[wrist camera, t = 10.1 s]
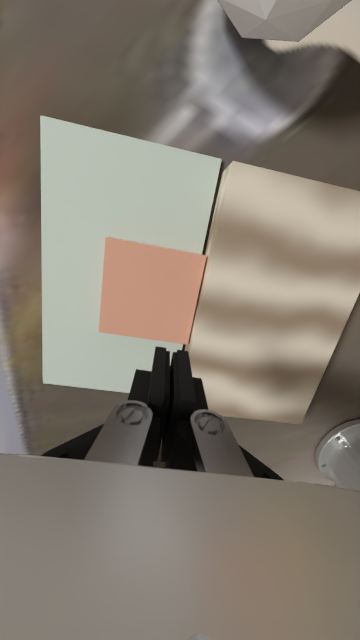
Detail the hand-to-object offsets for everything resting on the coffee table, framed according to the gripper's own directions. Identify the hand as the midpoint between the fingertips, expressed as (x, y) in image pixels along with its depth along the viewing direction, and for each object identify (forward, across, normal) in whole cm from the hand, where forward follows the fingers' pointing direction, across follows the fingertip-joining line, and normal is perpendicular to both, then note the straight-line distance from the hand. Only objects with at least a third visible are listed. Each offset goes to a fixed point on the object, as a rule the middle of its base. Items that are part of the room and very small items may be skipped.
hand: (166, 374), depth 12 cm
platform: (+17, -11, 0) cm, 20 cm away
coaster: (+16, +2, 0) cm, 16 cm away
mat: (+16, +6, 0) cm, 17 cm away
